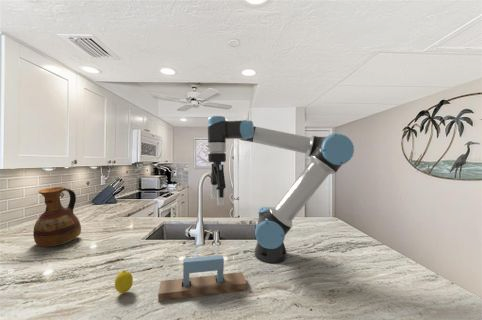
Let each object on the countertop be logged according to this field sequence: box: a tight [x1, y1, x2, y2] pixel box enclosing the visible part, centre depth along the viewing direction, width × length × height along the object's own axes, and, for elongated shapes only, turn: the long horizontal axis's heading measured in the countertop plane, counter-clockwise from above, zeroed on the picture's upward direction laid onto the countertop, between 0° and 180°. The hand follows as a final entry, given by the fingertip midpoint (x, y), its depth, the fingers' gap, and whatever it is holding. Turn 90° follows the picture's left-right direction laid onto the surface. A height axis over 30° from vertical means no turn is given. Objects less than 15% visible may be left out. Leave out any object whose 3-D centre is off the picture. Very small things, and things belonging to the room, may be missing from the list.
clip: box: [182, 254, 225, 287], centre depth 84 cm, size 14×3×11 cm, turn 103°
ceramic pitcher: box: [32, 186, 82, 247], centre depth 126 cm, size 20×20×30 cm
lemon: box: [114, 270, 134, 295], centre depth 81 cm, size 6×6×8 cm
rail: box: [157, 272, 248, 302], centre depth 84 cm, size 30×8×2 cm, turn 103°
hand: (217, 202), depth 102 cm, fingers open, 13 cm apart
